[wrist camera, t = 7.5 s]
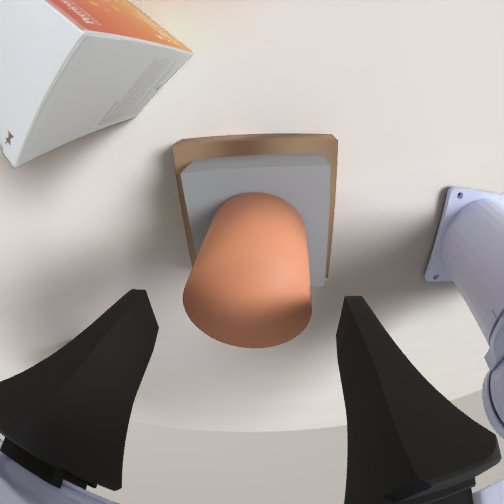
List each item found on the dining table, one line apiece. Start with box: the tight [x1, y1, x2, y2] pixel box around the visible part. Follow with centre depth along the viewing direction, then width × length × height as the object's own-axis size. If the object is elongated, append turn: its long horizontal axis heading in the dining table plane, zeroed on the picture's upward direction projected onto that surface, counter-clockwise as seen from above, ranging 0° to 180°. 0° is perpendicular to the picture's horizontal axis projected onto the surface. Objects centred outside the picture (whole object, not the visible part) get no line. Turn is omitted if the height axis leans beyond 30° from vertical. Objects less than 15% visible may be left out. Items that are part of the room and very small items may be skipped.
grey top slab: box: [180, 153, 330, 287], centre depth 16 cm, size 7×7×2 cm
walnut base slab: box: [172, 134, 338, 278], centre depth 18 cm, size 9×9×2 cm
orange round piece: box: [183, 192, 312, 348], centre depth 13 cm, size 5×5×5 cm
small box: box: [0, 0, 193, 168], centre depth 9 cm, size 8×6×10 cm
